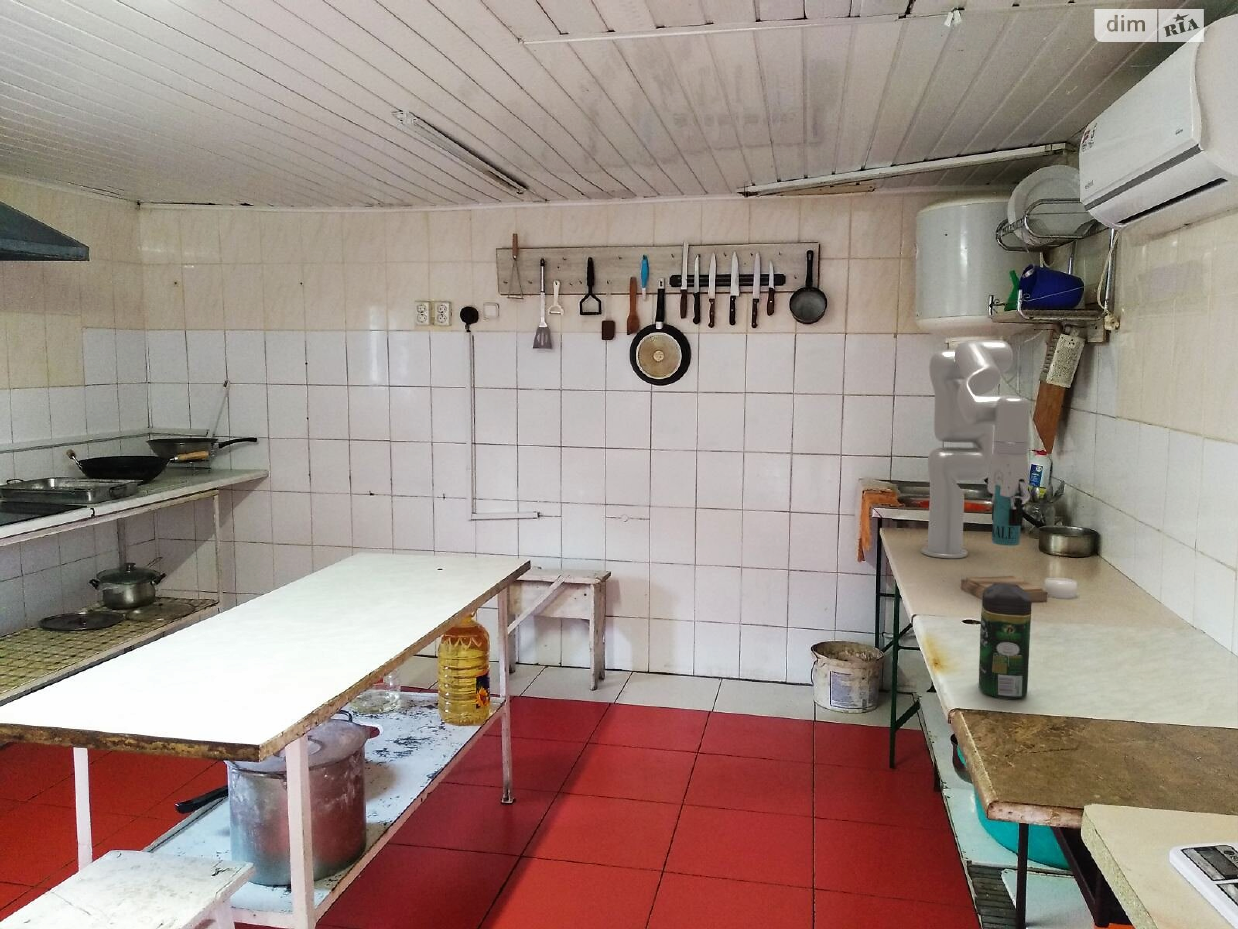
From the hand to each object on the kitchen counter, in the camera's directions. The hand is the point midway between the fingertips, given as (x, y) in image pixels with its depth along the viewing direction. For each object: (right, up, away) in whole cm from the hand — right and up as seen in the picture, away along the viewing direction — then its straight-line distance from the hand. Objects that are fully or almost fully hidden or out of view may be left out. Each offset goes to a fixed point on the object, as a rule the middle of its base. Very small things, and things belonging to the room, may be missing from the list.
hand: (1006, 522), depth 214 cm
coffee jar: (-27, -26, -59) cm, 70 cm away
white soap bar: (+14, -18, +2) cm, 23 cm away
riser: (0, -18, +2) cm, 18 cm away
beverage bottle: (0, -7, +1) cm, 7 cm away
